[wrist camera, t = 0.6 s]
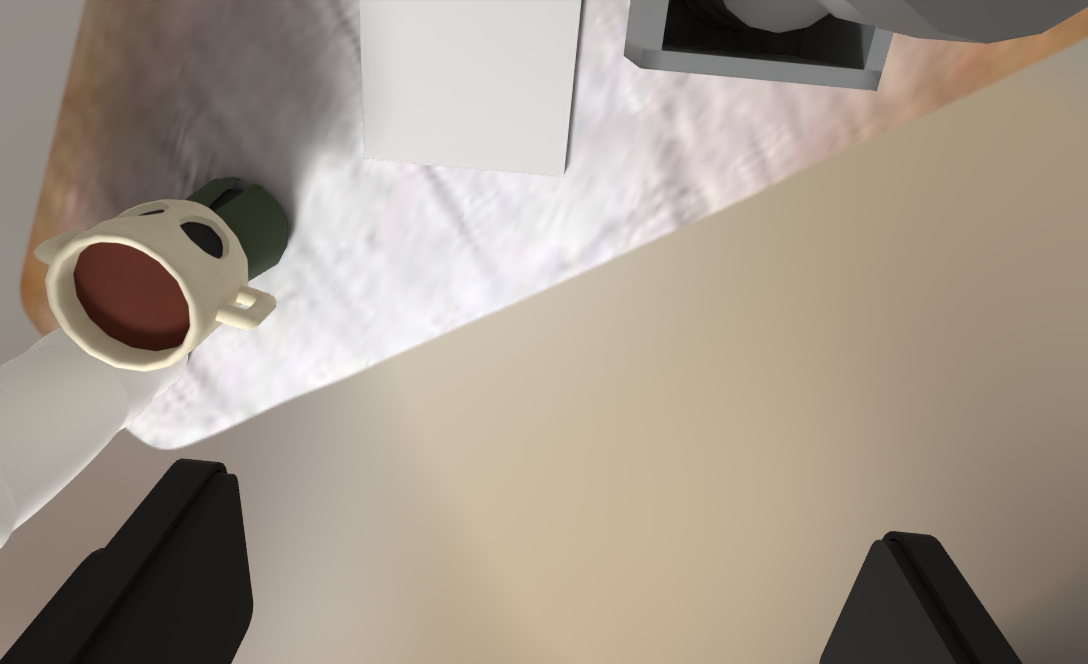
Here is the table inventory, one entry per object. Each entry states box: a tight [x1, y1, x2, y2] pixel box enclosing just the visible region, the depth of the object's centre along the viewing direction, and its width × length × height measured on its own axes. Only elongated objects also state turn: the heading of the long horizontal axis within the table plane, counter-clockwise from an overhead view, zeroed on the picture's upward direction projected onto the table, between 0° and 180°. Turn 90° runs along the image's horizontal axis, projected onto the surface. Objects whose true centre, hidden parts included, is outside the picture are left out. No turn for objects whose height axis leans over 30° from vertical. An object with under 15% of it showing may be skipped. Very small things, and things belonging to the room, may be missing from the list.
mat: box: [359, 0, 581, 177], centre depth 38 cm, size 12×12×1 cm
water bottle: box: [0, 327, 188, 548], centre depth 35 cm, size 7×7×25 cm
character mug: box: [33, 177, 288, 372], centre depth 37 cm, size 11×7×13 cm, turn 69°
